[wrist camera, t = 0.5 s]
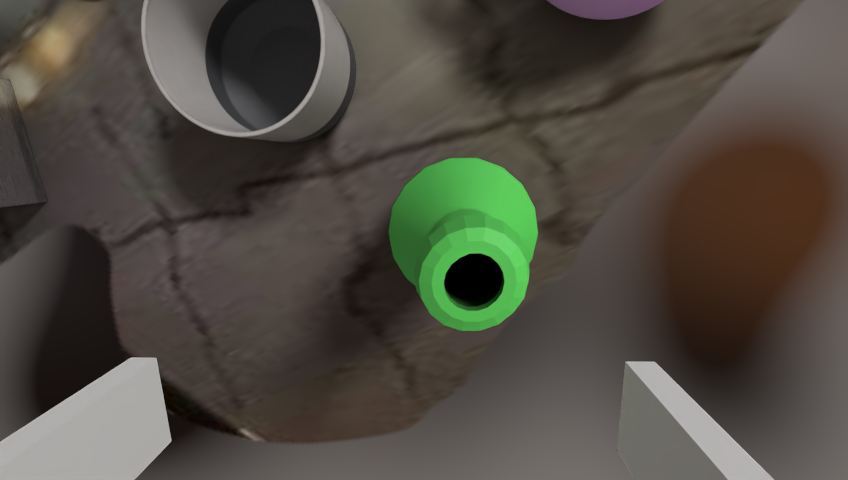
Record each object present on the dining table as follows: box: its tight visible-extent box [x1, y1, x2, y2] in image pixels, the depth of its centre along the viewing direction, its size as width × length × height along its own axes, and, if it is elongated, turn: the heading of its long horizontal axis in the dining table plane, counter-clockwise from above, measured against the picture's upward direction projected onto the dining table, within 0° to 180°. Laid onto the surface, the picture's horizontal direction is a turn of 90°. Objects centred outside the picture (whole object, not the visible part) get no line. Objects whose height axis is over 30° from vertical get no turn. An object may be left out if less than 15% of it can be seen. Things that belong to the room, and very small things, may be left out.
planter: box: [141, 0, 356, 143], centre depth 32 cm, size 13×13×10 cm
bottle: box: [388, 158, 538, 331], centre depth 26 cm, size 9×9×25 cm
